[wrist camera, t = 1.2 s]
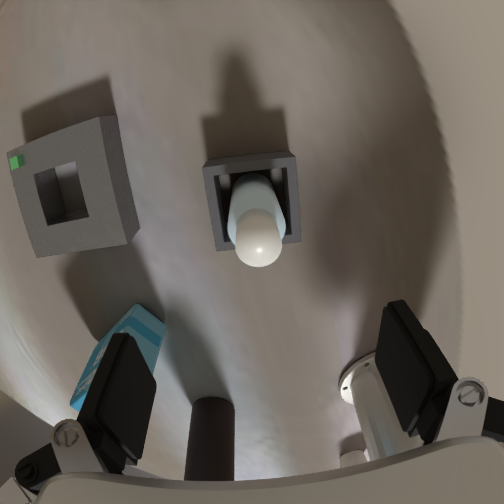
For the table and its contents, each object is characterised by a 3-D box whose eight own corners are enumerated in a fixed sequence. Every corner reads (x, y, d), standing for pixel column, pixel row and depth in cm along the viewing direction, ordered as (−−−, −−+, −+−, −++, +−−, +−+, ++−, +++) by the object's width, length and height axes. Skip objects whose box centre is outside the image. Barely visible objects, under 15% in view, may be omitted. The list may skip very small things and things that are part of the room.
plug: (271, 170, 28) (289, 211, 17) (275, 210, 30) (293, 271, 19) (229, 175, 28) (220, 219, 18) (234, 215, 30) (230, 278, 19)
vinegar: (190, 414, 45) (178, 522, 27) (195, 392, 42) (182, 513, 24) (230, 421, 46) (228, 527, 28) (239, 399, 43) (239, 519, 25)
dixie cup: (326, 460, 56) (333, 496, 47) (356, 444, 53) (366, 482, 44) (347, 464, 58) (354, 497, 49) (374, 450, 56) (384, 484, 47)
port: (116, 114, 25) (95, 116, 21) (140, 228, 30) (125, 247, 26) (28, 145, 25) (3, 153, 21) (53, 242, 31) (33, 260, 27)
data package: (140, 298, 34) (107, 372, 23) (169, 320, 36) (147, 397, 25) (96, 343, 38) (66, 408, 27) (121, 361, 39) (97, 428, 28)
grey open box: (288, 150, 27) (295, 156, 24) (294, 225, 31) (301, 241, 27) (207, 160, 28) (202, 167, 24) (219, 234, 31) (216, 251, 27)
